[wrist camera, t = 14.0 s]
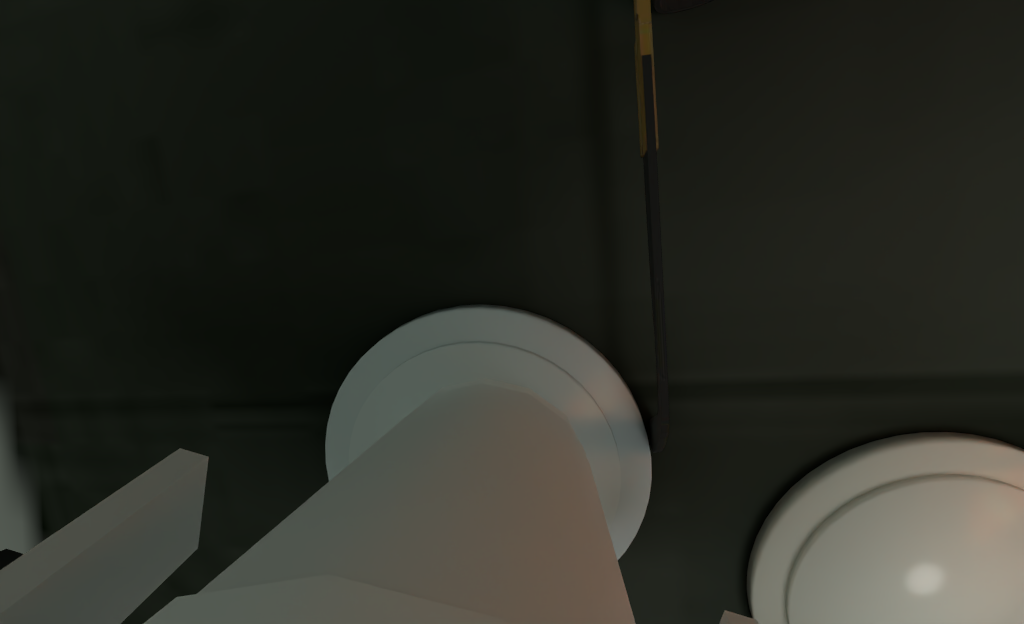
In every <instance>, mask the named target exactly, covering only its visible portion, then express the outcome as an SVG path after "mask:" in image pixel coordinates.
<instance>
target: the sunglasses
mask: <svg viewBox="0 0 1024 624" xmlns="http://www.w3.org/2000/svg"><path fill="white" fill-rule="evenodd" d="M710 1H713V0H653V6H654V9H655V10H656V11H657V12H659V13H662V14H667V13H675V12H679V11H684V10H688V9H692V8H695V7H698V6H700V5H703V4H705V3H708V2H710ZM634 15H635V33H636V40H635V45H634V47H635V64H636V82H637V99H638V117H639V134H640V152H641V158H642V157H643V161H644V178H645V195H646V212H647V229H648V246H649V263H650V280H651V294H652V308H653V320H654V334H655V349H656V368H657V387H658V413H657V416H655V417H653V418H651V419H650V420H649V430H650V444H651V448H652V451H653V452H662V451H663V449H664V446H665V444H666V441H667V438H668V432H669V396H668V373H667V351H666V330H665V311H664V289H663V269H662V249H661V229H660V209H659V189H658V169H657V150H658V148H659V147H658V129H657V111H656V93H655V75H654V57H653V39H652V23H651V5H650V0H634Z"/></svg>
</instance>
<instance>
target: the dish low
mask: <svg viewBox="0 0 1024 624" xmlns="http://www.w3.org/2000/svg"><path fill="white" fill-rule="evenodd" d="M484 378H486V379H491V380H495V381H500V382H504V383H508V384H513V385H517V386H522V387H526V388H530V389H531V390H533V391H534V392H535V393H537V394H538V395H539V396H541V397H542V398H543V399H545V400H546V401H547V402H549V403H550V404H551V405H553V406H554V407H555V408H557V409H558V410H560V411H561V412H562V413H564V414H565V415H566V416H567V418H568V420H569V422H570V424H571V426H572V428H573V429H574V431H575V433H576V435H577V437H578V439H579V441H580V443H581V445H582V446H583V448H584V450H585V452H586V457H587V459H588V461H589V463H590V467H591V470H592V474H593V477H594V481H595V484H596V488H597V491H598V495H599V498H600V502H601V505H602V509H603V512H604V516H605V519H606V523H607V526H608V530H609V533H610V537H611V540H612V543H613V547H614V550H615V554H616V557H617V561H618V559H619V558H620V557H621V556H622V555H623V554H624V553H625V551H626V550H627V548H628V547H629V545H630V544H631V542H632V540H633V539H634V537H635V536H636V534H637V532H638V529H639V527H640V525H641V523H642V520H643V518H644V515H645V511H646V508H647V504H648V501H649V496H650V488H651V480H652V472H651V454H650V448H649V443H648V437H647V433H646V430H645V426H644V423H643V420H642V417H641V414H640V411H639V408H638V405H637V403H636V401H635V399H634V397H633V395H632V393H631V391H630V389H629V387H628V386H627V384H626V383H625V381H624V380H623V378H622V377H621V375H620V374H619V372H618V371H617V370H616V369H615V368H614V366H613V365H612V364H611V363H610V362H609V361H608V360H607V359H606V357H605V356H604V355H603V354H602V353H601V352H599V351H598V350H597V349H596V348H595V347H594V346H593V345H591V344H590V343H589V342H588V341H587V340H585V339H584V338H582V337H581V336H579V335H578V334H576V333H575V332H573V331H572V330H570V329H569V328H567V327H565V326H563V325H561V324H559V323H557V322H555V321H553V320H551V319H549V318H547V317H544V316H541V315H538V314H535V313H532V312H529V311H526V310H521V309H516V308H512V307H507V306H497V305H484V304H481V305H462V306H456V307H451V308H445V309H440V310H437V311H434V312H431V313H428V314H425V315H422V316H419V317H417V318H415V319H413V320H411V321H409V322H407V323H405V324H403V325H401V326H400V327H398V328H397V329H395V330H394V331H392V332H391V333H389V334H388V335H386V336H385V337H384V338H383V339H381V340H380V341H379V342H378V343H377V344H375V345H374V346H373V347H372V348H371V349H370V350H369V351H368V352H367V353H366V354H364V355H363V356H362V357H361V359H360V360H359V361H358V362H357V363H356V365H355V366H354V367H353V368H352V370H351V371H350V372H349V374H348V375H347V377H346V379H345V380H344V382H343V384H342V385H341V387H340V389H339V391H338V393H337V396H336V398H335V401H334V403H333V405H332V409H331V412H330V416H329V420H328V424H327V432H326V442H325V451H326V467H327V472H328V478H329V481H330V480H331V479H333V478H334V477H335V476H336V475H337V474H339V473H340V472H341V471H342V470H343V469H344V468H346V467H347V466H348V465H349V464H350V463H351V462H353V461H354V460H355V459H356V458H357V457H359V456H360V455H361V454H362V453H363V452H364V451H366V450H367V449H368V448H369V447H370V446H371V445H373V444H374V443H375V442H376V441H377V440H379V439H380V438H381V437H382V436H383V435H384V434H386V433H387V432H388V431H389V430H390V429H391V428H393V427H394V426H395V425H396V424H397V423H399V422H400V421H401V420H402V419H403V418H405V417H406V416H407V415H408V414H410V413H411V412H412V411H413V410H415V409H416V408H417V407H418V406H420V405H421V404H422V403H423V402H425V401H426V400H427V399H428V398H430V397H431V396H432V395H433V394H435V393H436V392H437V391H439V390H440V389H441V388H442V387H446V386H451V385H456V384H461V383H465V382H470V381H475V380H480V379H484Z"/></svg>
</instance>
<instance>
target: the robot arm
mask: <svg viewBox="0 0 1024 624" xmlns="http://www.w3.org/2000/svg"><path fill="white" fill-rule="evenodd" d="M208 458H209V457H208V456H204V455H201V454H197V453H194V452H191V451H187V450H184V449H181V448H180V449H178V450H177V451H175V452H174V453H172V454H171V455H169V456H168V457H166V458H165V459H163V460H162V461H160V462H159V463H158V464H156V465H155V466H153V467H152V468H150V469H149V470H147V471H146V472H144V473H143V474H141V475H140V476H138V477H137V478H135V479H134V480H133V481H131V482H130V483H128V484H127V485H125V486H124V487H122V488H121V489H119V490H118V491H116V492H115V493H113V494H112V495H110V496H109V497H107V498H106V499H105V500H103V501H102V502H100V503H99V504H97V505H96V506H94V507H93V508H91V509H90V510H88V511H87V512H85V513H84V514H82V515H81V516H79V517H78V518H77V519H75V520H74V521H72V522H71V523H69V524H68V525H66V526H65V527H63V528H62V529H60V530H59V531H57V532H56V533H54V534H53V535H51V536H50V537H49V538H47V539H46V540H44V541H43V542H41V543H40V544H38V545H37V546H35V547H34V548H32V549H31V550H29V551H28V552H26V553H25V554H21V553H18V552H15V551H12V550H8V549H5V550H2V551H0V624H120V623H121V622H122V621H124V620H125V619H126V618H127V617H128V616H129V615H130V614H131V613H132V612H133V611H134V610H135V609H136V608H137V607H138V606H139V605H140V604H141V603H142V602H143V601H144V600H145V599H146V598H147V597H148V596H149V595H150V594H151V593H152V592H153V591H154V590H155V589H156V588H157V587H158V586H159V585H161V584H162V583H163V582H164V581H165V580H166V579H167V578H168V577H169V576H170V575H171V574H172V573H173V572H174V571H175V570H176V569H177V568H178V567H179V566H180V565H181V564H182V563H183V562H184V561H185V560H186V559H187V558H188V557H189V556H190V555H191V554H192V553H193V552H194V551H195V550H196V549H198V542H199V534H200V525H201V517H202V508H203V500H204V491H205V483H206V475H207V466H208ZM719 624H758V622H757V620H756V619H752V618H749V617H746V616H742V615H739V614H736V613H732V612H729V611H726V610H725V611H724V613H723V616H722V618H721V620H720V623H719Z"/></svg>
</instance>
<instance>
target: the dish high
mask: <svg viewBox="0 0 1024 624" xmlns="http://www.w3.org/2000/svg"><path fill="white" fill-rule="evenodd" d="M747 596H748V603H749V609H750V612H751V615H752V619H756V620H757V622H758V624H1024V449H1022V448H1020V447H1017V446H1014V445H1011V444H1009V443H1006V442H1003V441H1000V440H997V439H993V438H988V437H983V436H978V435H974V434H965V433H954V432H920V433H913V434H905V435H897V436H893V437H889V438H885V439H880V440H876V441H872V442H870V443H867V444H864V445H861V446H859V447H856V448H853V449H850V450H848V451H846V452H844V453H842V454H840V455H838V456H836V457H834V458H832V459H830V460H828V461H826V462H825V463H823V464H822V465H820V466H819V467H817V468H816V469H814V470H812V471H811V472H809V473H808V474H807V475H806V476H804V477H803V478H802V479H801V480H800V481H798V482H797V483H796V484H795V485H794V486H792V487H791V488H790V489H789V491H788V492H787V493H786V494H785V495H784V496H783V497H782V498H781V499H780V500H779V501H778V502H777V504H776V505H775V506H774V508H773V509H772V511H771V512H770V514H769V515H768V516H767V518H766V519H765V521H764V523H763V525H762V527H761V529H760V531H759V533H758V535H757V537H756V539H755V542H754V545H753V548H752V551H751V554H750V559H749V565H748V570H747Z"/></svg>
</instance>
